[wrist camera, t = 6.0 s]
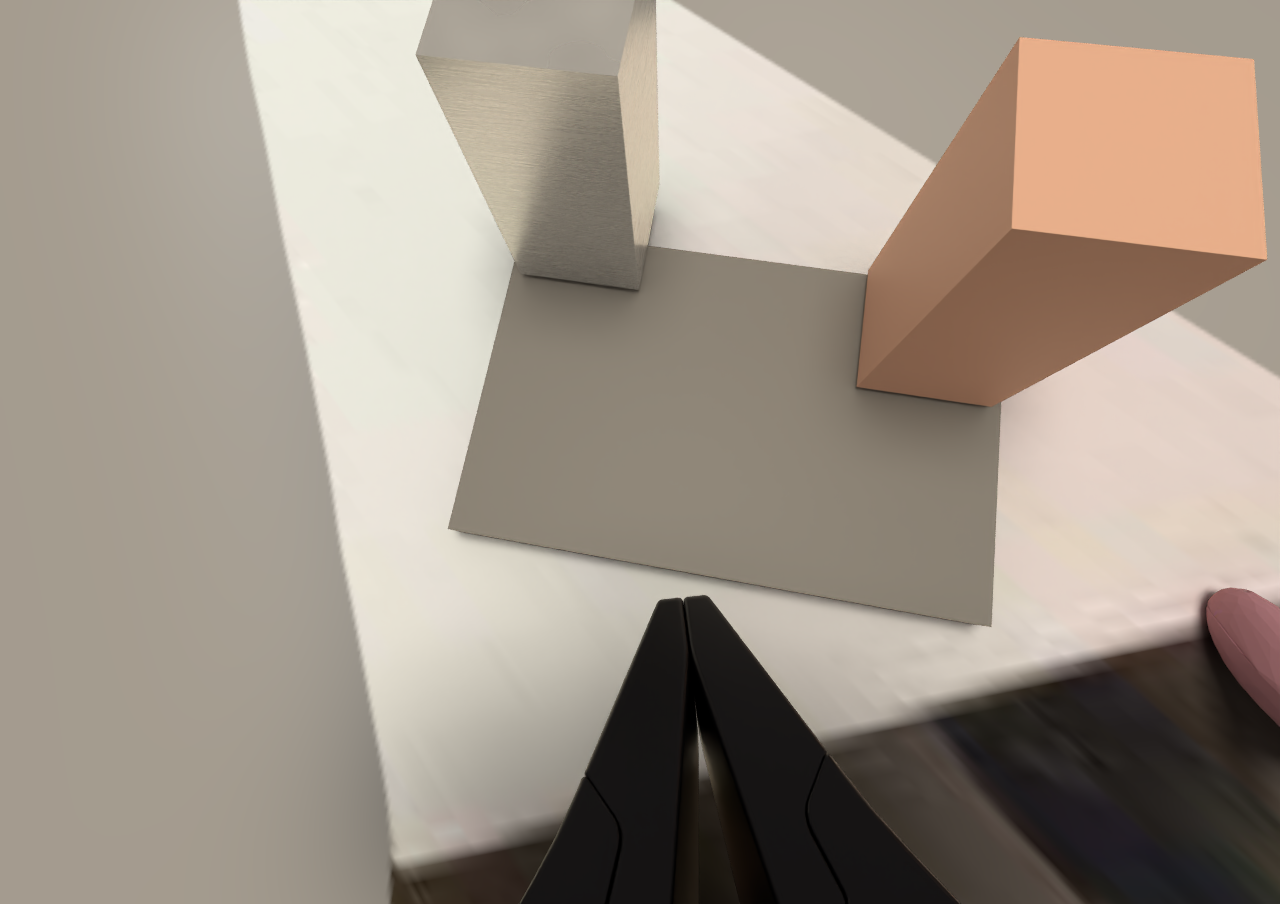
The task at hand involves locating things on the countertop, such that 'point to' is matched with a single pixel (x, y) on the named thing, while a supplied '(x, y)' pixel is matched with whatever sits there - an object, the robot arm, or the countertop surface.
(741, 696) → the robot arm
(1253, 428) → the countertop surface
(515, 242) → the brushed grey block
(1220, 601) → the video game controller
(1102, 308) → the peach orange rectangular block
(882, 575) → the thin grey base plate
